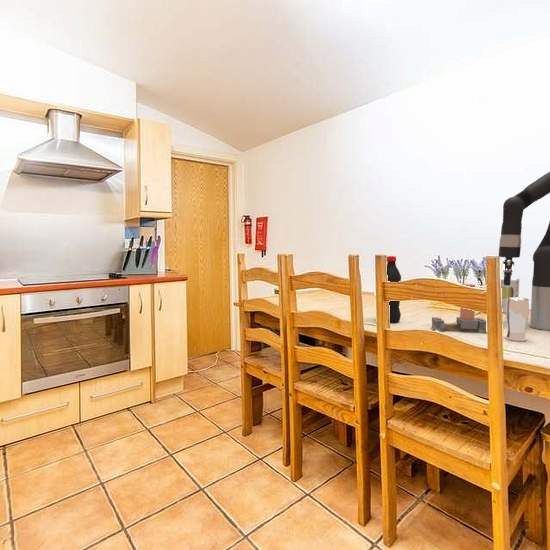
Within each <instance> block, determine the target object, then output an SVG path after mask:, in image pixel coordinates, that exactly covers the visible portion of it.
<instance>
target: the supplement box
mask: <svg viewBox="0 0 550 550" xmlns="http://www.w3.org/2000/svg"><path fill="white" fill-rule="evenodd" d="M500 278H501V288H502V308H503V313H502V314H506V303H507V298H509V297H518V298H519V295H520V294H519V293H520V278H516V277H515V278H514V277H511V281H510V285H504V277H500Z"/></svg>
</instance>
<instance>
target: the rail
mask: <svg viewBox="0 0 550 550" xmlns="http://www.w3.org/2000/svg"><path fill="white" fill-rule="evenodd" d="M474 319H476V320H478V329H462V328H460V324H457V323H456V322H455V323H451V322H450V323H448V322H446V323H445V320H444V319H443V318H442V317H439V316H435V317H431V329H432V328H433V329H434V330H433V329H432V330H433V331H435V330H438V331H444V332H466V331H478V332H477V333H479V332H480V333H479V334H487V333H486V321H487V320H485V319H484V318H483V317H474Z"/></svg>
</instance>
